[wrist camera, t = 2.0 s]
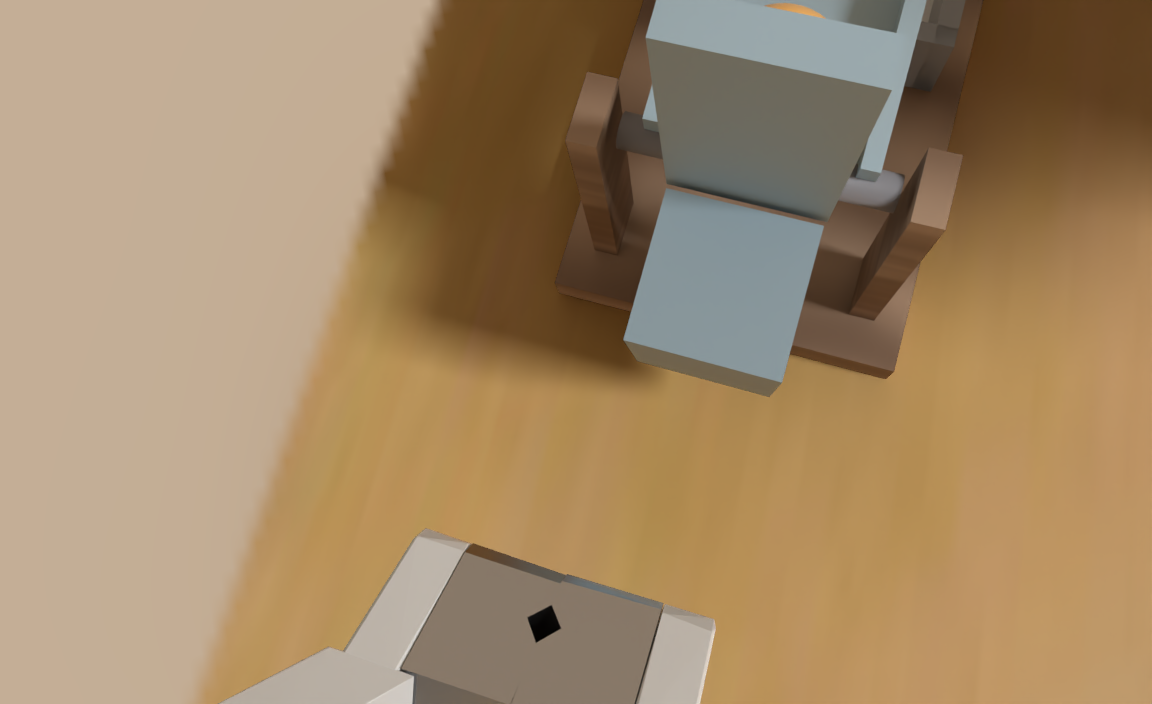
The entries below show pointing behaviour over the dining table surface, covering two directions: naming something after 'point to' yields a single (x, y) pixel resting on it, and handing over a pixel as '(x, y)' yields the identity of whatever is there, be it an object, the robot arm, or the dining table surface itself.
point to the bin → (934, 42)
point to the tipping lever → (757, 168)
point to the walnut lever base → (774, 212)
